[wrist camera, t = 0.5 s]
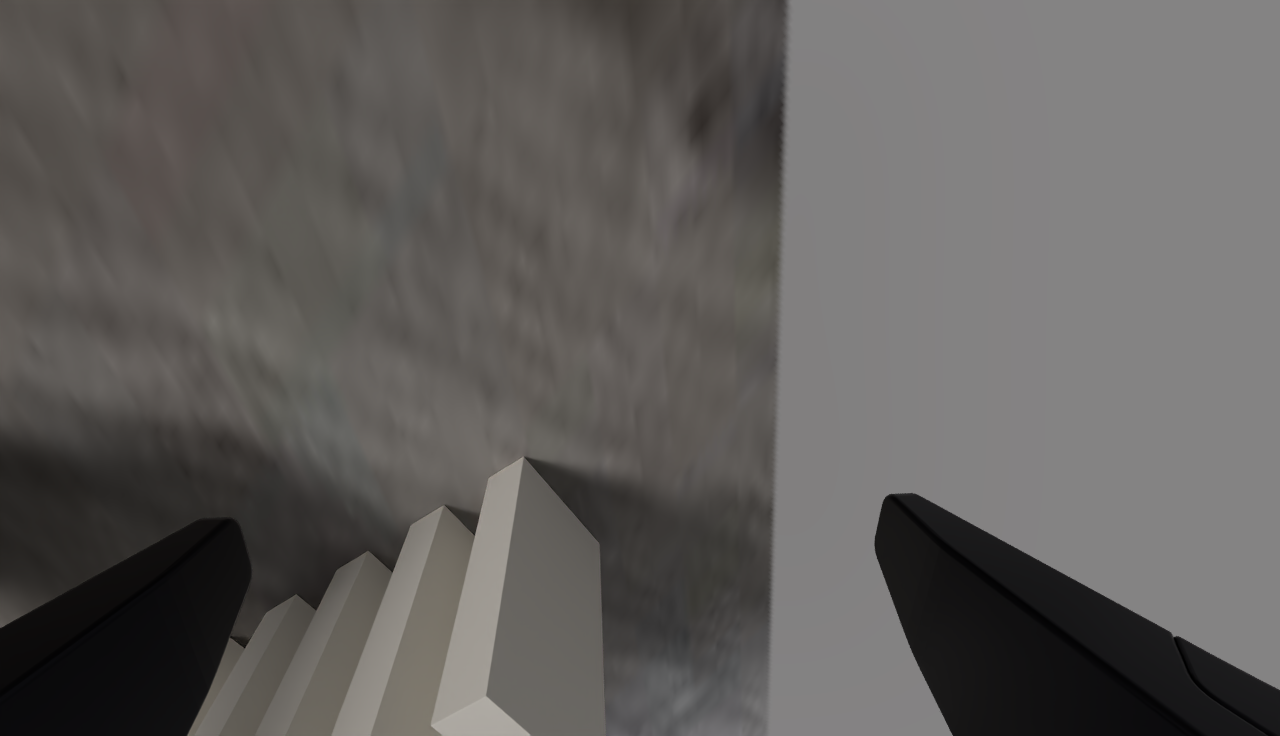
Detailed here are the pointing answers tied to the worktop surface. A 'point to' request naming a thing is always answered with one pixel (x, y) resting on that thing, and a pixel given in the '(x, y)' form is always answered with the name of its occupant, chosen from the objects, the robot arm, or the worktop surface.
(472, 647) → the domino
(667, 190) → the worktop surface
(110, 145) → the worktop surface
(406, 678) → the domino
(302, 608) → the domino
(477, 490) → the worktop surface
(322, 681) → the domino
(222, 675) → the domino
